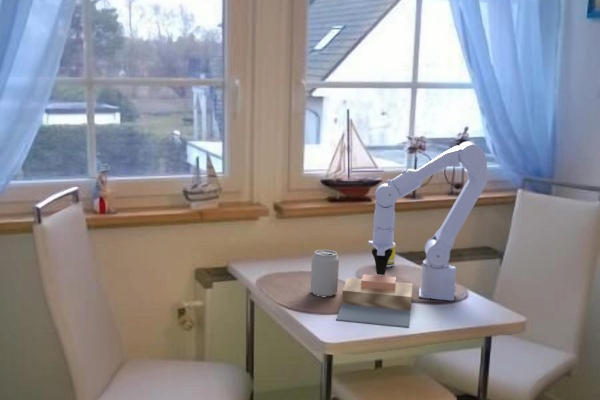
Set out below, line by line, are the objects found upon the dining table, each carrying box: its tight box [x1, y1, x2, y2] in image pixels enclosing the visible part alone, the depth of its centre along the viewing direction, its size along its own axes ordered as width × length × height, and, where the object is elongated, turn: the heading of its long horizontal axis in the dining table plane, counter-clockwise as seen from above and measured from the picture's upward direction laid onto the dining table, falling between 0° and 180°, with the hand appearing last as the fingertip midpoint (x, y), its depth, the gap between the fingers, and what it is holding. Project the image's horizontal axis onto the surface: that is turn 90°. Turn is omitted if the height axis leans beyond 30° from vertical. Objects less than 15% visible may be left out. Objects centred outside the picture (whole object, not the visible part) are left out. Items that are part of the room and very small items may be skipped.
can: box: [309, 249, 340, 297], centre depth 200 cm, size 8×8×12 cm
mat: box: [335, 303, 411, 328], centre depth 185 cm, size 18×12×1 cm, turn 80°
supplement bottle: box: [386, 237, 396, 268], centre depth 232 cm, size 5×5×10 cm
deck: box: [341, 277, 413, 311], centre depth 197 cm, size 18×12×4 cm, turn 80°
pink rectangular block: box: [361, 273, 397, 291], centre depth 197 cm, size 9×6×2 cm, turn 80°
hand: (380, 274), depth 205 cm, fingers closed
